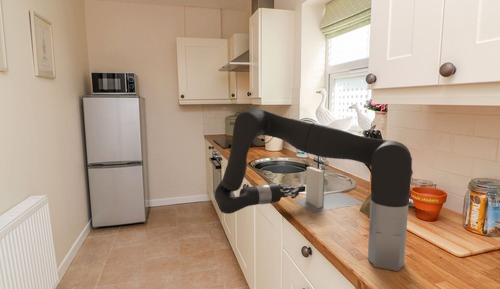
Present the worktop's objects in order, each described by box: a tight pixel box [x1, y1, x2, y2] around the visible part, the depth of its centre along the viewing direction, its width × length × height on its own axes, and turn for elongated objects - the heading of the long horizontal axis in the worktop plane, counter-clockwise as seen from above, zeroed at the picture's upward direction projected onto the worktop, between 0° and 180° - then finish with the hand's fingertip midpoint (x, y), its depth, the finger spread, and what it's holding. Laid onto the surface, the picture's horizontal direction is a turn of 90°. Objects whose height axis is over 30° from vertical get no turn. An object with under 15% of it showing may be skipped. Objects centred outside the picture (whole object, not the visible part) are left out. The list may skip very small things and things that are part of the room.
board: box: [292, 192, 365, 213], centre depth 128 cm, size 26×16×1 cm, turn 113°
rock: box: [359, 192, 371, 219], centre depth 112 cm, size 11×9×10 cm
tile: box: [305, 166, 325, 208], centre depth 124 cm, size 2×9×15 cm, turn 23°
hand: (304, 188), depth 122 cm, fingers closed
